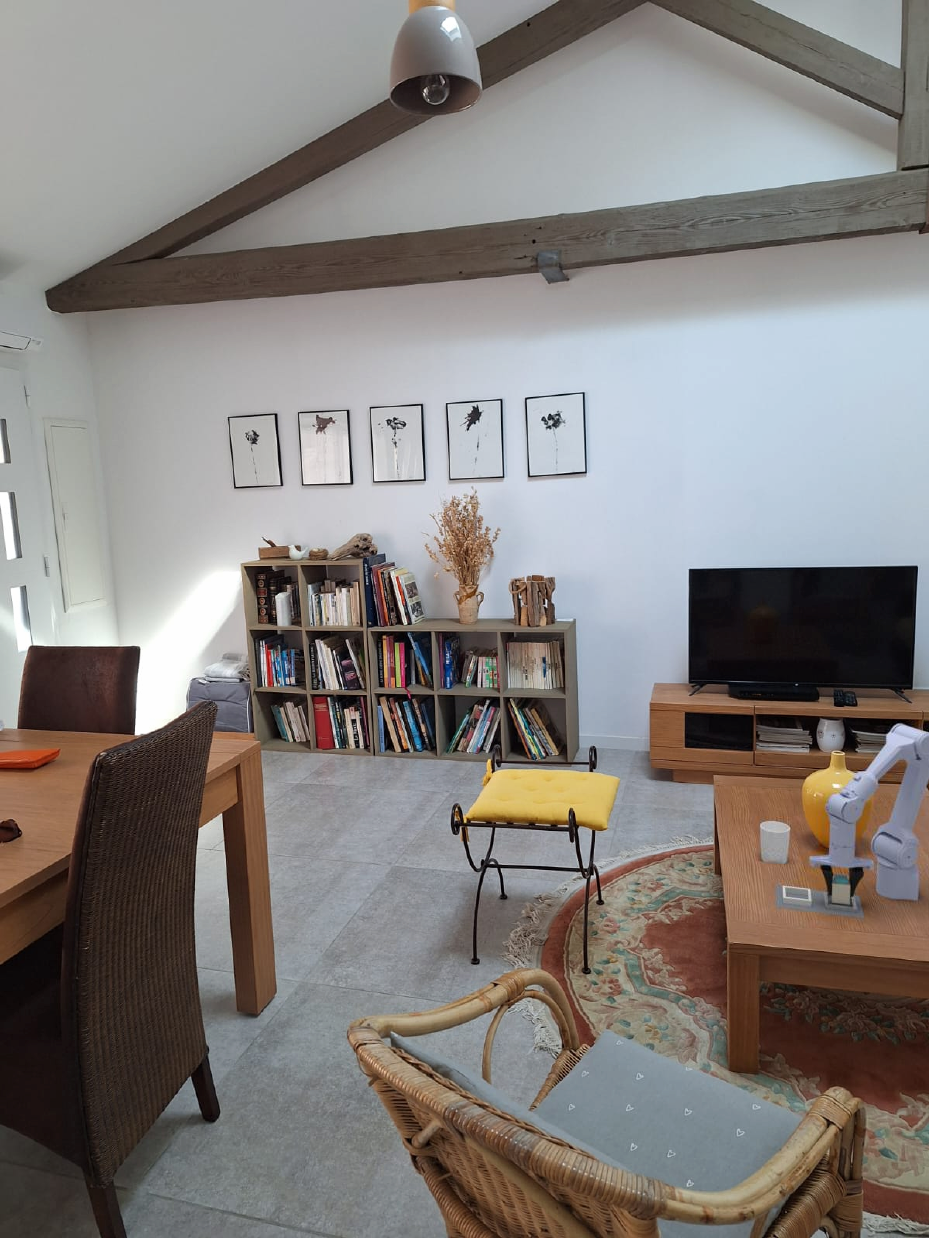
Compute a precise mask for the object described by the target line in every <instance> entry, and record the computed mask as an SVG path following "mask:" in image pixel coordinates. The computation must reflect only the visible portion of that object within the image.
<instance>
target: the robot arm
mask: <svg viewBox="0 0 929 1238" xmlns="http://www.w3.org/2000/svg"><path fill="white" fill-rule="evenodd" d="M901 760H905V762H906V765H907V766H906V768H905V770H904V775H903V778H902V781H901V784H900V787H899V791H898V794H897V797H896V800H895V802H894V806H893V809H892V811H891V814H890V818H889V821H888V822H886V823H884V824H881V825H880V826H878V828H877V829H878V830H876V831H877V832H876V833H875V834H874V835H873V837H872V839H871V842H870V848H871V851H872V853H873V854H875V859H876V860H877V861H876V862H877V866H876V884H875V885H876V886H875V888H876V889H875V891H876V893H877V894H879V895H880V896H882V897H883V898H888V899H892V900H907V901H919V890H920V889H919V887H920V886H919V885H920V872H919V867H918V865H917V864H915V863H916V862H917V860H918V847H919V845H920V841H919V839H918V838H917V836H916V834H915V833H914V831H913V829H914V826H915V822H916V820H917V816H918V813H919V810H920V808H921V804H922V800H923V798H924V794H925V793H926V789H927V785H928V783H929V732H928V731H924V730H922V729H919V728H915V727H912V726H909V725H906V724H904V723H896V724H895V725H893V727H892V728H891V729H890V731H889V732H888V733H886V735H885V744H884V746H883V747H882V748H881V750H880V751H879V753H878V754H877V755H876V756H875V758H874V759H873V760H872V762H871V763H870V765H869V766H868V767H867V768H866V770H863V771H857V772H856V773H855V774H854V775H853V777H852V778H851V779H850V780H849V782H848V783H847V784H846V785H845V786H844V787H843V788H842V789H841V790H840V791H839V792H838V793H834V794H832V795H830V796H829V797H828V798H827V801H826V804H825V805H824V808H825V812H826V813H827V814H828V820H829V823H830V824H829V845H828V847H829V848H828V854H827V855H815V856H812V855H811V856H809V866H810V867H812V868H816V867H819V868H820V870H821V872H822V874H823V877H824V882H825V886H826V892H828V895H829V896H832V880H833V877H834V872H833V868H842V869H848V878H849V882H850V897H853V896H854V895H855V892H856V889H857V887H858V885H859V883H860V882H861V880H862V879H863V877H864V875H865V871H864V870H865V869H866V870H867V869H868V870H869V871H874V869H875V862H874V860H873V859H870V858H862V857H856V856H855V851H856V850H855V849H856V826H857V821H858V820H860V819H861V817H862V814H863V811H864V808H865V803H867V801H869V799H870V798H871V797H872V795H874V793H876V791H877V790H878V789H879V780H880V779H881V778H882V777H883V776H884V775H885V774H886V773H887V772H888V771H889V770H890V769H892V768H893V766H895V764H897V763H898V762H899V761H901Z"/></svg>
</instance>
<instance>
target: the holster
mask: <svg viewBox="0 0 929 1238" xmlns="http://www.w3.org/2000/svg"><path fill="white" fill-rule="evenodd" d="M827 897H828V898H831V896H829V895H828V892H827V891H825V892H823V898H824V905H825V909H830V910H838V911H846V912H854V913H857V906H856V901H855V897H854V896H853V897H850V900H851V903H852V907H849V906H840V905H832V904H828V898H827Z"/></svg>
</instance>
